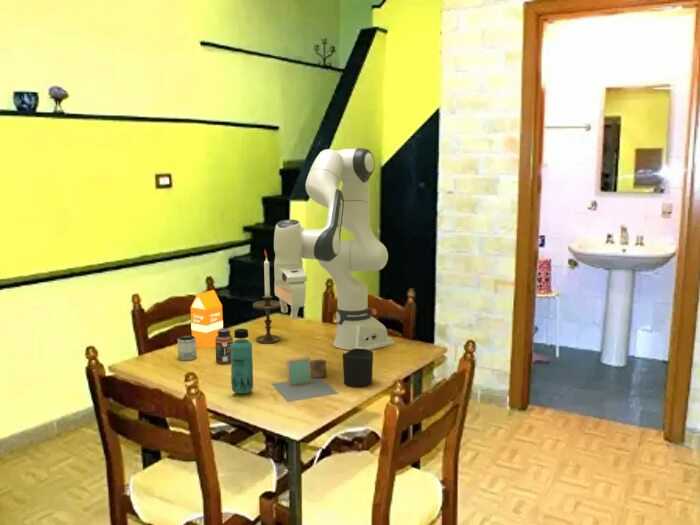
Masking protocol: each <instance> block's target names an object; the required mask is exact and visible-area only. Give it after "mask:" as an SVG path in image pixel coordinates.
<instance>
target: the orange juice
mask: <svg viewBox="0 0 700 525" xmlns="http://www.w3.org/2000/svg"><path fill="white" fill-rule="evenodd" d="M190 321H191V322H190V324H191V325H190V328H191V336H194V337H195V338H196V348H197V347H198V348H203V349H210V348H212V347H216V346H215V338H216V336H218V330H219V329H224V320H223V304H222V303H221V301H220V299H219V297H218V295H217V293H216V291H215V289H212V290H207V291H204V292H200V293H197V294H196V296H195V298H194V300H193V302H192V304H191V306H190Z"/></svg>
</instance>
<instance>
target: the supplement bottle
mask: <svg viewBox="0 0 700 525" xmlns="http://www.w3.org/2000/svg"><path fill="white" fill-rule="evenodd" d="M233 338H234V336H232V335H231V330H230V329H229V328H223V329H219V330H218V336H216V338H215V346H214V347H215V362H216V363H217V364H219V365H221V364H222V365H227V364H231V344H232V343H233V342H234V339H233Z"/></svg>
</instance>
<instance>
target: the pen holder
mask: <svg viewBox="0 0 700 525" xmlns="http://www.w3.org/2000/svg"><path fill="white" fill-rule="evenodd" d="M373 363H374V352H373V351H372V350H367V349H352V350H348V351H347V352H344V353H342V367H343V368H342V371H343V372H342V373H343V385H345V386H347V387H349V388H355V389H356V388H357V389H358V388H360V389H361V388H367V387H369V386H371V385H372V382H373V368H374V367H373V365H374V364H373Z"/></svg>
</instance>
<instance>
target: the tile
mask: <svg viewBox="0 0 700 525" xmlns="http://www.w3.org/2000/svg"><path fill="white" fill-rule="evenodd" d="M310 361H311V357H310V356H307V355H306V356H301V357H300V356H299V357H298V356H297V357H292V358H286V381H287V384H288V385H289V386H291V385H298V384H304V383H310V378H311V371H310Z"/></svg>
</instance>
